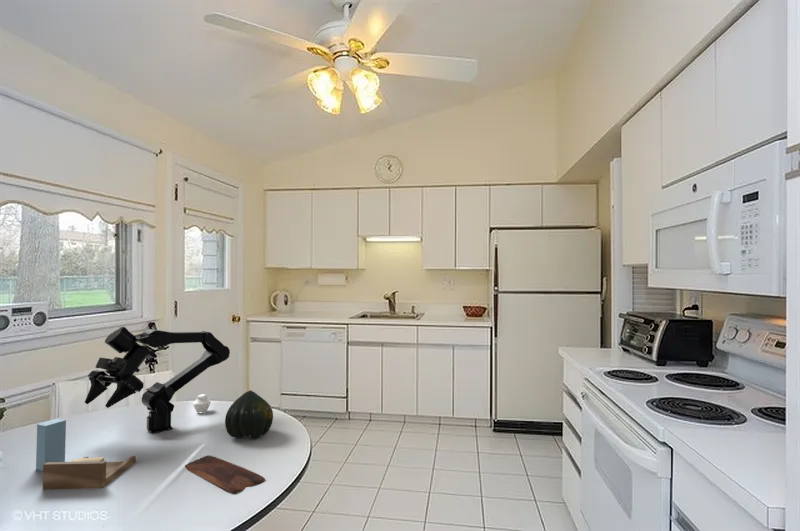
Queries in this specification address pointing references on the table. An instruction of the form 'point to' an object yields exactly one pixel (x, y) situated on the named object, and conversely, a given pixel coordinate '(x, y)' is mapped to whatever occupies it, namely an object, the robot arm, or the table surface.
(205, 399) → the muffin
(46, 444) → the light blue block
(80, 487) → the tray
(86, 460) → the offcut upper
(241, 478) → the wooden tablet
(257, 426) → the squash
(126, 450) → the table surface
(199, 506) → the table surface
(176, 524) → the table surface
